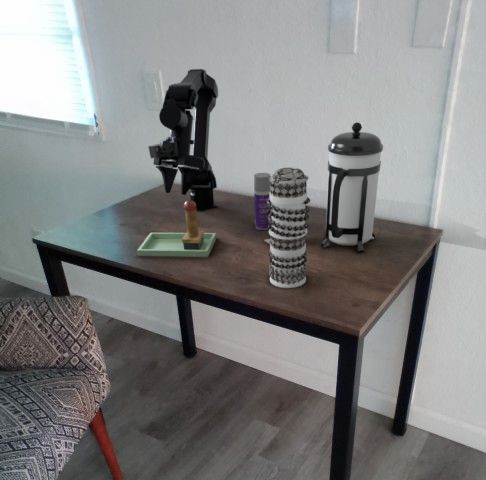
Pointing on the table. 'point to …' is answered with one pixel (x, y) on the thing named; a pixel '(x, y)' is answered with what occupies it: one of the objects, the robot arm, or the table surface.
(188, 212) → the wooden rubber stamp
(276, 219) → the decorative candle
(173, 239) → the tray
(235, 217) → the table surface
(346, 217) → the coffee press
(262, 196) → the container
